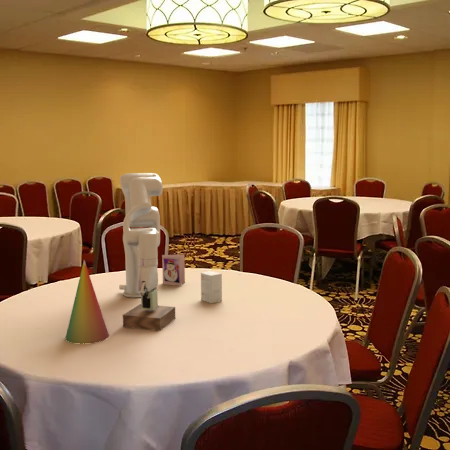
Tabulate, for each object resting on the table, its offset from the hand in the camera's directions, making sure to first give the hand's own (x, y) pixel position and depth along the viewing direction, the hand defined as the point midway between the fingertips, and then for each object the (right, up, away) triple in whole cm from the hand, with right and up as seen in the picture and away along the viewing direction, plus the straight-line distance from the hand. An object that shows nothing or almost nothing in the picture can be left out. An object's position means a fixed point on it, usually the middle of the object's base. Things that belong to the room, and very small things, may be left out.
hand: (149, 305), depth 236 cm
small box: (+24, -3, +33) cm, 41 cm away
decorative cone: (-22, -10, -15) cm, 28 cm away
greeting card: (+5, +2, +65) cm, 65 cm away
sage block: (0, -1, 0) cm, 1 cm away
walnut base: (0, -7, +1) cm, 7 cm away
